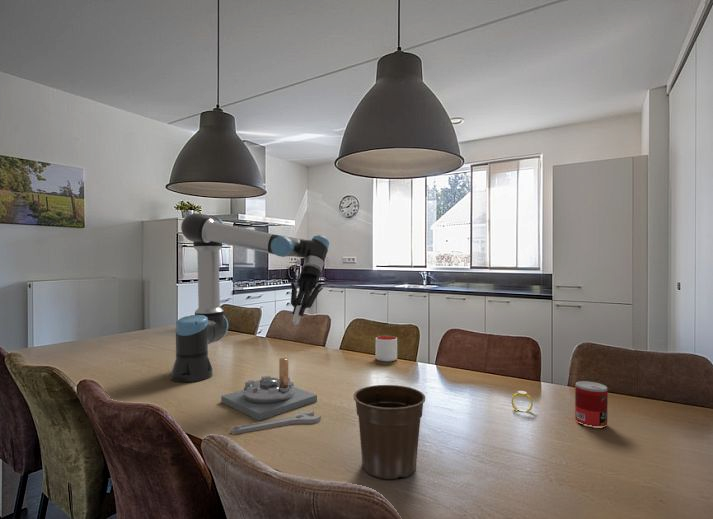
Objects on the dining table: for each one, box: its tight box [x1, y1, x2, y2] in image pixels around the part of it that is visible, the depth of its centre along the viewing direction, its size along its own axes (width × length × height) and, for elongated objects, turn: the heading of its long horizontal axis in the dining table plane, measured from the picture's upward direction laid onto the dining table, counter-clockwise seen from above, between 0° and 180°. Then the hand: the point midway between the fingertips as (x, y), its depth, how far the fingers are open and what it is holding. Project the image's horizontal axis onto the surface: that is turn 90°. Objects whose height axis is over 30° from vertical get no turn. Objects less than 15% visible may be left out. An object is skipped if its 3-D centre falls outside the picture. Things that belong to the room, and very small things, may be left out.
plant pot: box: [353, 384, 426, 480], centre depth 93 cm, size 16×16×16 cm
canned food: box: [574, 380, 609, 426], centre depth 116 cm, size 8×8×11 cm
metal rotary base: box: [243, 357, 295, 404], centre depth 133 cm, size 17×16×13 cm
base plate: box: [220, 386, 318, 422], centre depth 133 cm, size 22×22×2 cm
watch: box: [511, 390, 534, 412], centre depth 126 cm, size 6×3×6 cm, turn 67°
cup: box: [375, 335, 398, 363], centre depth 188 cm, size 10×10×10 cm
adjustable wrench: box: [230, 410, 322, 435], centre depth 116 cm, size 25×6×2 cm, turn 110°
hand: (294, 323), depth 148 cm, fingers closed
